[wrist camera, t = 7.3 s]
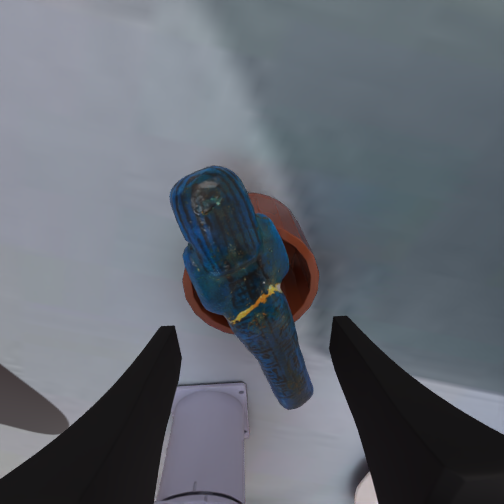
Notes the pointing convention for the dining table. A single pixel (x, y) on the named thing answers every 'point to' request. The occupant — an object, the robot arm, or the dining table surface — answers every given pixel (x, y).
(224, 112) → the dining table surface
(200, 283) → the figurine
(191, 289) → the cup
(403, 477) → the robot arm
